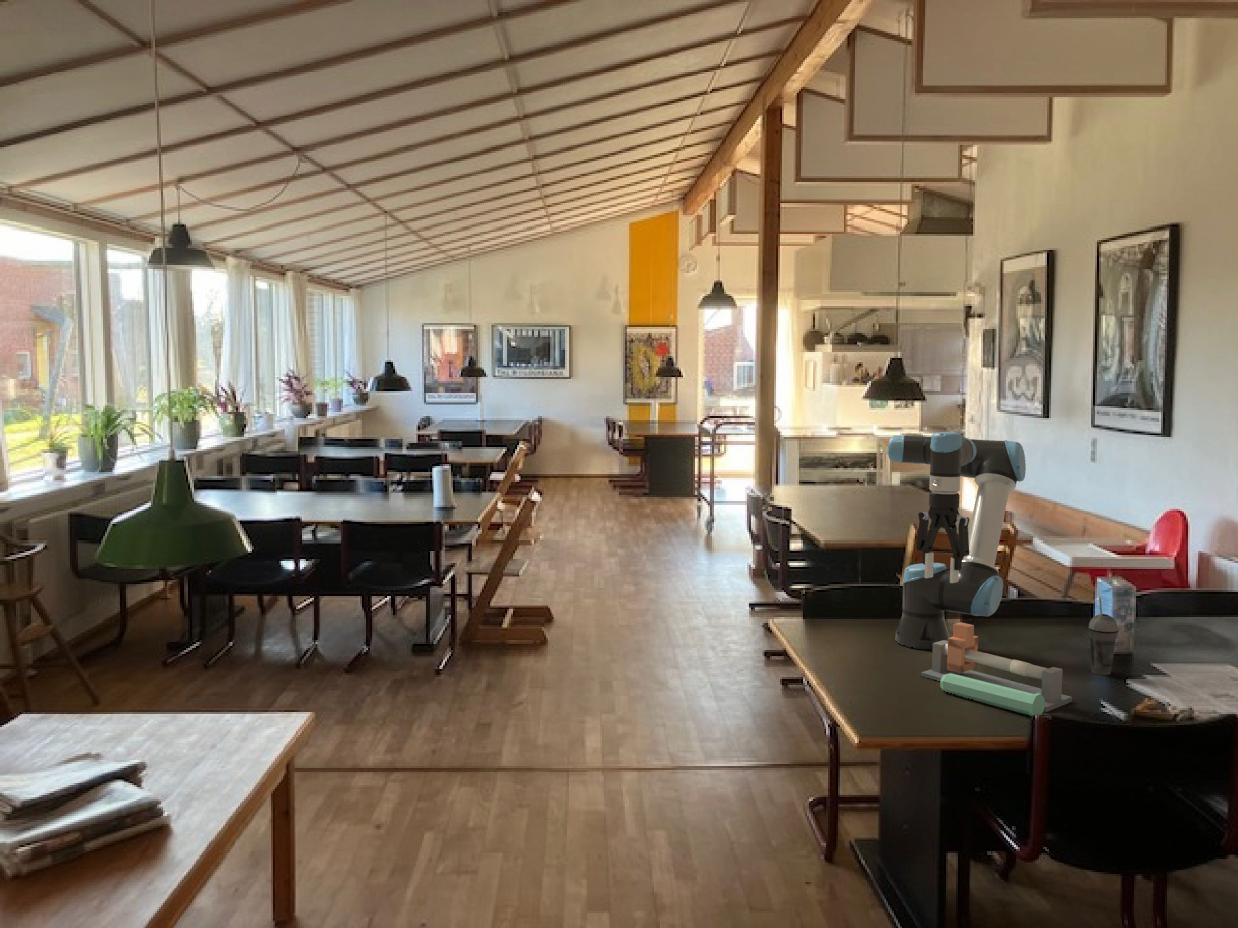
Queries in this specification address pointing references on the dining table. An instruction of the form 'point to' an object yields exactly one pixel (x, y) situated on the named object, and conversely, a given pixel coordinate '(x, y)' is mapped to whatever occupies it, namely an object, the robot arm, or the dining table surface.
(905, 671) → the dining table surface
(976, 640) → the collar
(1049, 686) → the rail
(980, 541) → the robot arm
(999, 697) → the light green long prism
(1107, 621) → the beverage cup
